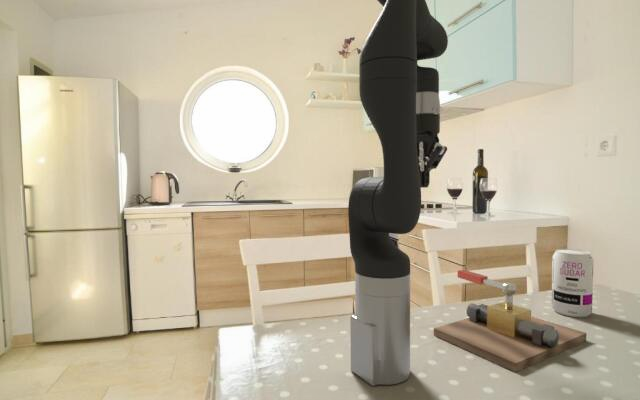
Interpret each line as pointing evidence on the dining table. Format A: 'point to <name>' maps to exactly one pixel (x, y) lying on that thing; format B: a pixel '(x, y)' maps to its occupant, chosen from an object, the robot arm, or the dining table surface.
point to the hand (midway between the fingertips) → (423, 187)
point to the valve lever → (486, 281)
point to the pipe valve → (513, 322)
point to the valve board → (506, 343)
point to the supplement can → (572, 282)
